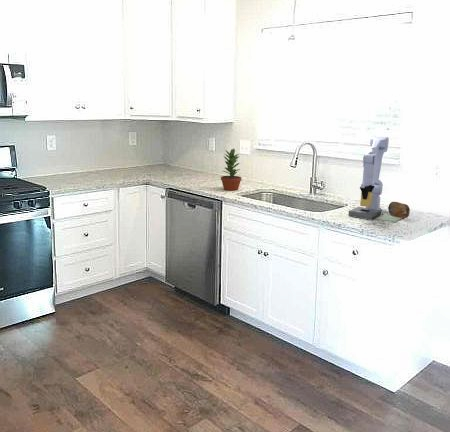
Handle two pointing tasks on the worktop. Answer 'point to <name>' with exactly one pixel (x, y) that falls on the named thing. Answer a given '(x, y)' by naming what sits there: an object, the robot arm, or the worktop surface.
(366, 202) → the plug
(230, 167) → the potted plant
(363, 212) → the square hole plate
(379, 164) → the robot arm
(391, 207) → the tin
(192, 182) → the worktop surface
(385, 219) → the mat
